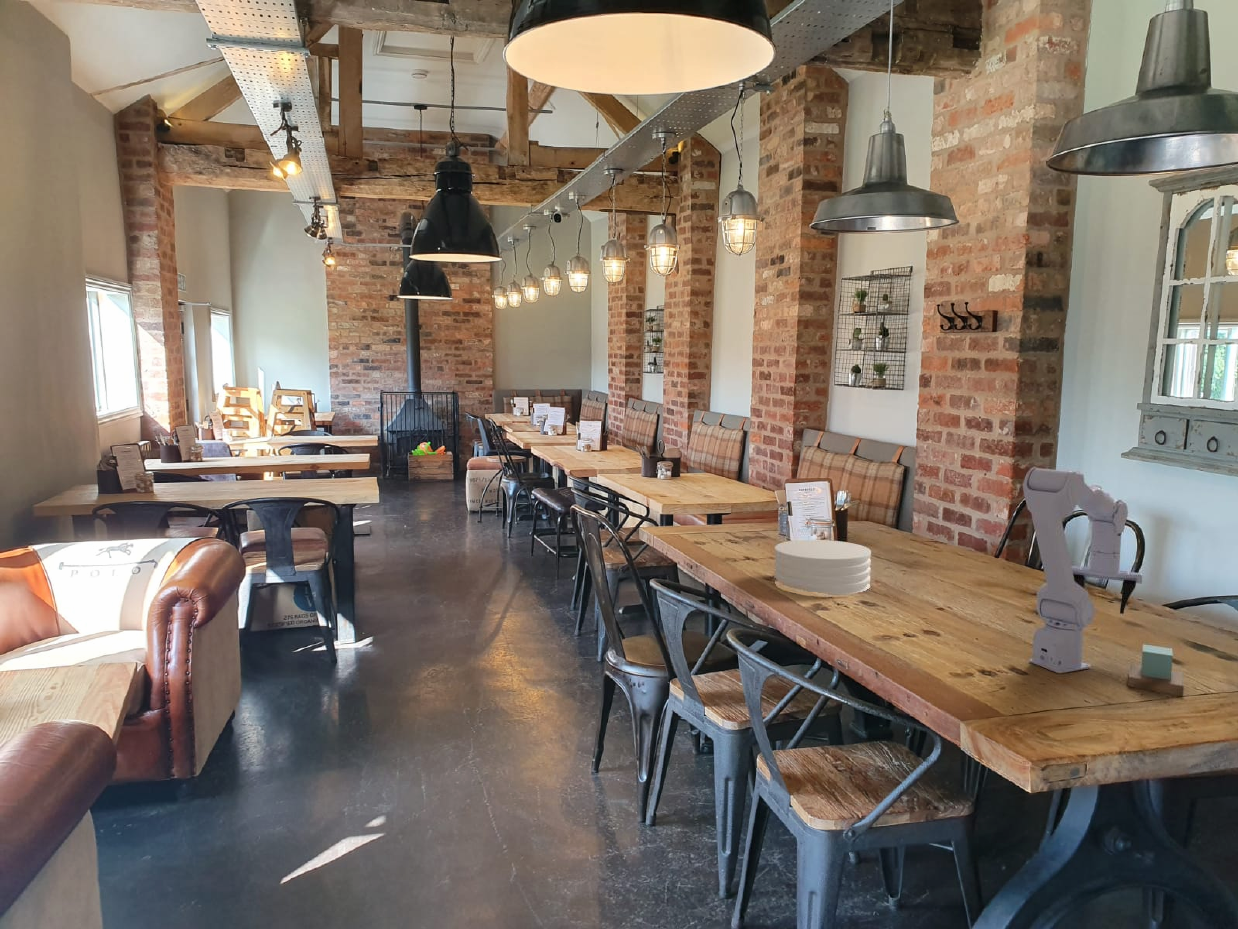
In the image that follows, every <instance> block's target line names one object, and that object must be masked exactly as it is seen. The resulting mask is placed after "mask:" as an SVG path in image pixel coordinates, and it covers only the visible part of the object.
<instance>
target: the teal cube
mask: <svg viewBox="0 0 1238 929" xmlns="http://www.w3.org/2000/svg"><path fill="white" fill-rule="evenodd" d="M1173 655H1174V654H1173V648H1170V647H1169V648H1168V647H1163V646H1157V645H1149V644H1142V654H1141V666H1142V668H1141V675H1143V676H1149V677H1155V678H1161V679H1167V680H1171V672H1172V669H1173V658H1174V657H1173Z"/></svg>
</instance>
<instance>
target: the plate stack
mask: <svg viewBox="0 0 1238 929" xmlns="http://www.w3.org/2000/svg"><path fill="white" fill-rule="evenodd" d="M774 552H775V554H774V561H775V563H774V579H775V578H776V579H777V580H778V582H780V583H782V584H783V585H787V586H789V587H791V588H794V589H799V590H803V591H807V592H818V593H825V594H826V593H827V594H828V595H842V594H844V595H846V594H854V593H858V592H863V591H866V590H867V589H869V588H870V589H871V584H870V583H871V570H872V569H871V566H872V559H871V556H872V550H871V549H870V548H868V547H866V546H864V545H861V544H857V543H852V542H848V541H847V542H846V541H840V540H839V541H838V540H831V539H830V540H828V539H800V540H799V539H798V540H790V541H783V542H781V543H778V544H776V545H775V546H774Z"/></svg>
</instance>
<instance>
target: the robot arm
mask: <svg viewBox="0 0 1238 929" xmlns="http://www.w3.org/2000/svg"><path fill="white" fill-rule="evenodd" d="M1022 491H1023V495H1024V499H1025V503H1026V508H1027V510H1028V511H1029V512H1030V513H1031V520H1032V524H1033V529H1034V532H1035V536H1036V537H1035V538H1036V541H1037V545H1038V550H1039V555H1040V559H1041V563H1042V568H1043V573H1044V577H1045V580H1046V582H1045V583H1043V584H1042V585H1041V586H1040V588H1038V590H1037V593H1036V599H1037V600H1036V612H1037V614H1038V616H1039V617H1040V618H1042V623H1044V624H1043V626H1041V627H1039V628H1037V629H1036V630H1035V632H1034V633H1033V638H1032V641H1033V642H1032V657H1031V658H1030V659H1028V662H1029V663H1032V664H1034V665H1036V666H1039V667H1042V668H1044V669H1047V670H1049V671H1052V672H1055V673H1057V674H1063V673H1068V672H1069V673H1070V672H1074V671H1080V670H1085V669H1086V670H1087V669H1091V668H1092V665H1090V664H1088V663H1085V662H1083V649H1084V648H1083V644H1084V629H1086V628H1088V627H1089V626H1090V625H1091V624H1092V623H1093V621H1094V618H1095V613H1096V611H1095V610H1096V608H1095V604H1094V602H1093V601H1092V599H1091V598H1090V595H1089V591H1087V590H1086V581H1087V580H1086V579H1087V578H1092V579H1093V578H1094V579H1101V580H1112V581H1121V582H1122V586H1121V603H1120V606H1119V607H1120V608H1119V614H1121V615H1123V614H1124V613H1125V608H1126V605H1127V603H1128V601H1129V599H1130V596H1132V594H1133V591H1134V590H1135V589H1136V588H1137V584H1139V585H1140V584H1143V573H1141V572H1133V571H1127V570H1123V569H1120V560H1121V546H1122V545H1121V544H1122V533H1124V530H1125V526H1126V525H1125V524H1126V522H1127V519H1128V516H1129V511H1128V510H1129V508H1128V505H1127V503H1126V502H1124V501H1123V500H1122V499H1117V498H1116V499H1115V498H1113V496H1111V495H1110V494H1109V493H1107V492H1105V491H1104V490H1102V486H1100V485H1096V484H1092V485H1088V484H1087V483H1086V481H1085V475H1084V474H1083V473H1081V472H1080V471H1079V470H1073V471H1072V470H1060V469H1049V468H1039V467H1035V466H1034V467H1031V468H1029V470H1028V471H1027V472H1026V474H1025V477H1024V481H1023V483H1022ZM1077 506H1078V508H1080V510H1082V511H1083V512H1085V514H1086V515H1087V519H1088V521H1089V522H1091V538H1090V557H1089V566H1079V565H1078V566H1077V565H1072V562H1071V558H1070V554H1069V549H1068V545H1067V539H1066V535H1065V531H1064V530H1065V529H1064V524H1063V519H1066V518H1067V517H1070V516H1072V515H1073V512H1074V510H1075V509H1076V507H1077Z"/></svg>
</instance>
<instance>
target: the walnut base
mask: <svg viewBox="0 0 1238 929" xmlns="http://www.w3.org/2000/svg"><path fill="white" fill-rule="evenodd" d="M1141 668H1142V664H1141V665H1140V664H1133V663H1130V664H1129V675H1128V687H1129V686H1130V688H1134V689H1135V688H1136V689H1140V688H1141V689H1142V690H1146V691H1147V690H1148V691H1153V692H1158V691H1160V692H1159V693H1164V694H1168V695H1169V694H1171V695H1175V696H1176V695H1177V696H1181V695H1182V697H1184V688H1185V687H1184V686H1185V685H1184V675H1183V674H1184V673H1183V671H1178V670H1172V672H1171V680H1167V679H1161V678H1155V677H1149V676H1143V675H1141Z"/></svg>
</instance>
